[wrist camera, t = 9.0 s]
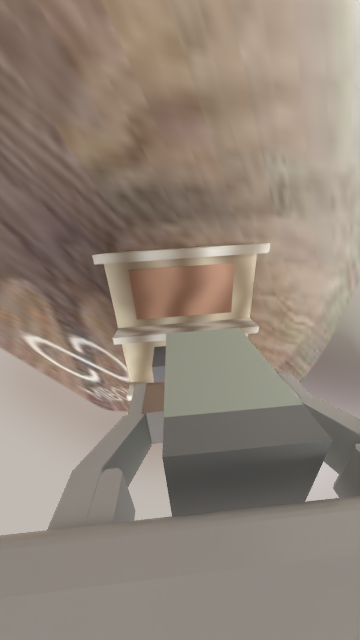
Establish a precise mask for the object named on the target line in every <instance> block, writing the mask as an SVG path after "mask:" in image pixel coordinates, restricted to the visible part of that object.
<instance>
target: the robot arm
mask: <svg viewBox="0 0 360 640" xmlns="http://www.w3.org/2000/svg"><path fill="white" fill-rule="evenodd" d="M277 374H278V375H279V376H280V377H281V378H282V380H283V381H284V382H285V383H286V384H287V386H288V387H289V388H290V389H291V390H292V392H293V393H294V394H295V395H296V396H297V398H298V399H299V400H300V401H301V402H302V404H303V405H304V406H305V407H306V408H307V410H308V411H309V412H310V413H311V415H312V416H313V417H314V418H315V419H316V421H317V422H318V423H319V424H320V425H321V427H322V428H323V429H324V430H325V431H326V433H327V434H328V435H329V436H330V437H331V439H332V440H333V441H332V443H331V445H330V448H329V450H328V452H327V454H326V456H325V459H324V462H325V463H326V464H328V465H329V466H330V467H331V468H332V469H334V470H335V471H336V472H337V473H338V474H339V476H338V478H337V480H336V481H335V483H334V490H335V492H336V493H337V495H338V496H339V498H335V499H326V500H317V501H309V502H299V503H290V504H281V505H272V506H263V507H254V508H245V509H236V510H226V511H217V512H208V513H199V514H190V515H181V516H172V517H164V518H154V519H145V520H136V521H134V517H135V508H134V505H133V502H132V499H131V496H130V493H129V490H128V486H129V484H130V483H131V481H132V479H133V477H134V476H135V474H136V472H137V470H138V468H139V467H140V465H141V463H142V461H143V460H144V458H145V456H146V454H147V453H148V451H149V449H150V447H151V444H156V443H163V424H164V391H165V382H157V383H146V384H136V385H135V387H134V391H133V395H132V399H131V404H130V408H129V412H128V415H125V416H123V417H122V418H121V420H120V421H119V422H118V423H117V424H116V425H115V426H114V427H113V428H112V429H111V430H110V431H109V432H108V434H107V435H106V436H105V437H104V438H103V439H102V440H101V441H100V442H99V443H98V444H97V445H96V446H95V447H94V449H93V450H92V451H91V452H90V453H89V454H88V455H87V456H86V457H85V458H84V459H83V460H82V461H81V463H80V464H79V465H78V466H77V467H76V468H75V469H74V470H73V471H72V473H71V476H70V478H69V480H68V483H67V485H66V488H65V490H64V492H63V494H62V497H61V499H60V501H59V504H58V506H57V509H56V511H55V513H54V515H53V518H52V520H51V522H50V525H49V527H48V529H47V530H46V531H38V532H28V533H19V534H10V535H1V536H0V640H360V419H358V418H356V417H354V416H352V415H351V414H349V413H346V412H344V411H343V410H341V409H339V408H337V407H335V406H333V405H331V404H329V403H327V402H325V401H323V400H321V399H319V398H313V397H312V396H311V395H310V393H308V391H307V390H306V389H305V388H304V387H303V386H302V385H301V384H300V383H299V382H298V381H297V380H296V379H295V378H294V377H293V375H292V374H291V373H290V372H288V371H280V372H277Z"/></svg>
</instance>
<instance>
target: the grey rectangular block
mask: <svg viewBox="0 0 360 640" xmlns="http://www.w3.org/2000/svg"><path fill="white" fill-rule="evenodd" d="M332 441H333V440H332V439H331V437H330V436H329V435H328V434H327V433H326V431H325V430H324V429H323V428H322V427H321V425H320V424H319V423H318V422H317V421H316V419H315V418H314V417H313V416H312V415H311V413H310V412H309V411H308V410H307V408H306V407H305V406H304V405H303V404H302V402H301V401H300V400H299V399H298V398H297V396H296V395H295V394H294V393H293V392H292V390H291V389H290V388H289V387H288V386H287V384H286V383H285V382H284V381H283V380H282V378H281V377H280V376H279V375H278V374H277V372H276V371H275V370H274V369H273V368H272V366H271V365H270V364H269V363H268V362H267V360H266V359H265V358H264V357H263V356H262V354H261V353H260V352H259V351H258V350H257V348H256V347H255V346H254V345H253V344H252V342H251V341H250V340H249V339H248V338H247V336H246V335H245V334H244V333H243V332H242V330H241V329H240V328H229V329H217V330H204V331H192V332H179V333H167V334H166V357H165V391H164V424H163V463H164V469H165V475H166V481H167V487H168V493H169V499H170V505H171V511H172V516H181V515H190V514H199V513H208V512H217V511H226V510H236V509H245V508H254V507H263V506H272V505H281V504H290V503H299V502H305V500H306V498H307V496H308V494H309V491H310V489H311V487H312V485H313V483H314V481H315V478H316V476H317V474H318V472H319V470H320V467H321V465H322V463H323V461H324V459H325V456H326V454H327V452H328V450H329V448H330V445H331V443H332Z"/></svg>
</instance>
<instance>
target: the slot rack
mask: <svg viewBox="0 0 360 640" xmlns="http://www.w3.org/2000/svg"><path fill="white" fill-rule="evenodd" d="M269 249H270V243H251V244H236V245H221V246H205V247H190V248H175V249H160V250H145V251H129V252H114V253H102V254H96V255H92V257H93V261H94V265H95V264H104V267H105V271H106V276H107V280H108V285H109V289H110V294H111V298H112V303H113V307H114V312H115V316H116V320H117V325H118V330H117V331H116V333H115V335H114V336H113V338H112V339H113V343H114V345H115V344H122V347H123V352H124V356H125V361H126V365H127V369H128V374H129V378H130V385H129V389H128V393H127V400H128V401H129V400H131V399H132V395H133V391H134V387H135V385H136V384H146V383H154V378H153V371H152V362H153V355H154V348H155V347H159V346H166V334H167V333H179V332H192V331H204V330H217V329H229V328H240V329H241V330H242V332H243V333H244V334H245V335H246V336H247V338H248V334H251V333H258V330H259V326H258V325H257V324H256V323H255V322H254V321H253V320H251V319H250V311H251V302H252V293H253V284H254V275H255V266H256V257H257V253H269Z"/></svg>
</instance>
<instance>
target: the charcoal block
mask: <svg viewBox="0 0 360 640" xmlns="http://www.w3.org/2000/svg"><path fill="white" fill-rule="evenodd" d="M165 357H166V346H159V347H155V348H154V355H153V362H152V371H153V378H154V383H157V382H165Z"/></svg>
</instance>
